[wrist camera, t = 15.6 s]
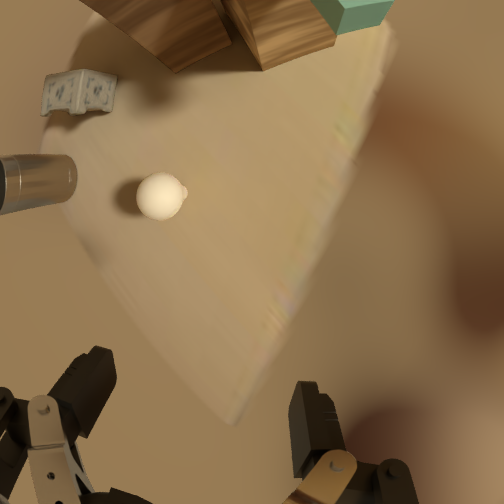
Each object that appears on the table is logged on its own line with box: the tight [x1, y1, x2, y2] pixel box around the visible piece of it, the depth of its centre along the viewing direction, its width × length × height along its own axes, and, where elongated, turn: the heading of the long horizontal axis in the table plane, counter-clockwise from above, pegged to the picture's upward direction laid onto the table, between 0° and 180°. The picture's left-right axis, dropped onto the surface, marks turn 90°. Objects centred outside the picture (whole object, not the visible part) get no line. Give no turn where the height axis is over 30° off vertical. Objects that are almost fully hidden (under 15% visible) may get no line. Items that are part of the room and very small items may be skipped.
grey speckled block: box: [41, 69, 118, 116], centre depth 35 cm, size 10×8×10 cm
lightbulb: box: [136, 172, 188, 220], centre depth 37 cm, size 6×6×11 cm
